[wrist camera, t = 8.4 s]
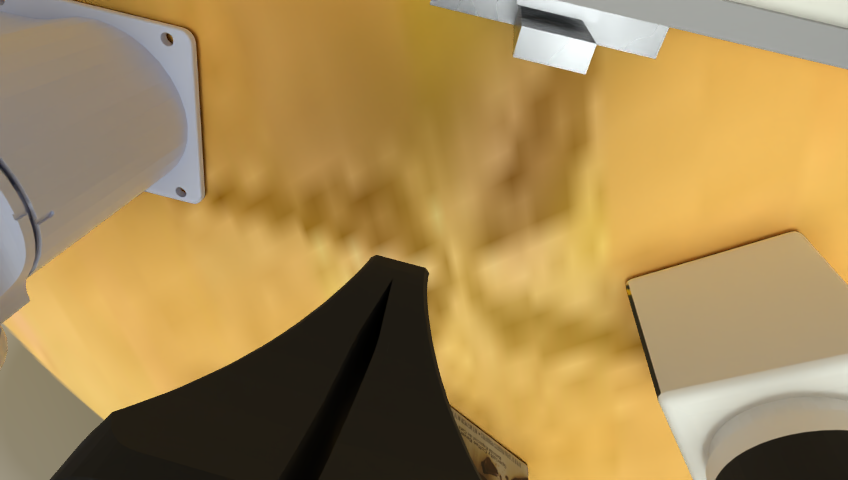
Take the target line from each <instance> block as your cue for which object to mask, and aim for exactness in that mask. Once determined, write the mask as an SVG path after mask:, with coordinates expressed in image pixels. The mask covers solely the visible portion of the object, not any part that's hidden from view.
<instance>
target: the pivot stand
mask: <svg viewBox="0 0 848 480" xmlns="http://www.w3.org/2000/svg"><path fill="white" fill-rule="evenodd" d="M430 5H433V6H438V7H442V8H446V9H450V10H454V11H458V12H463V13H467V14H471V15H475V16H479V17H483V18H487V19H492V20H496V21H500V22H504V23H508V24H512V25H514V39H513V57H515V58H519V59H523V60H528V61H532V62H536V63H540V64H544V65H548V66H552V67H556V68H561V69H565V70H569V71H573V72H577V73H581V74H586V72H587V69H588V66H589V64H590V61H591V58H592V56H593V53H594V50H595V47H596V45H599V46H604V47H608V48H612V49H616V50H620V51H624V52H628V53H633V54H637V55H641V56H645V57H649V58H653V59H656V56H657V54H658V52H659V50H660V47H661V45H662V43H663V41H664V38H665V36H666V34H667V32H668V29H669V27H667V26H663V25H658V24H654V23H650V22H646V21H642V20H637V19H633V18H629V17H625V16H621V15H616V14H612V13H608V12H604V11H599V10H595V9H591V8H587V7H583V6H578V5H574V4H570V3H566V2H562V1H557V0H431V2H430Z"/></svg>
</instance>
